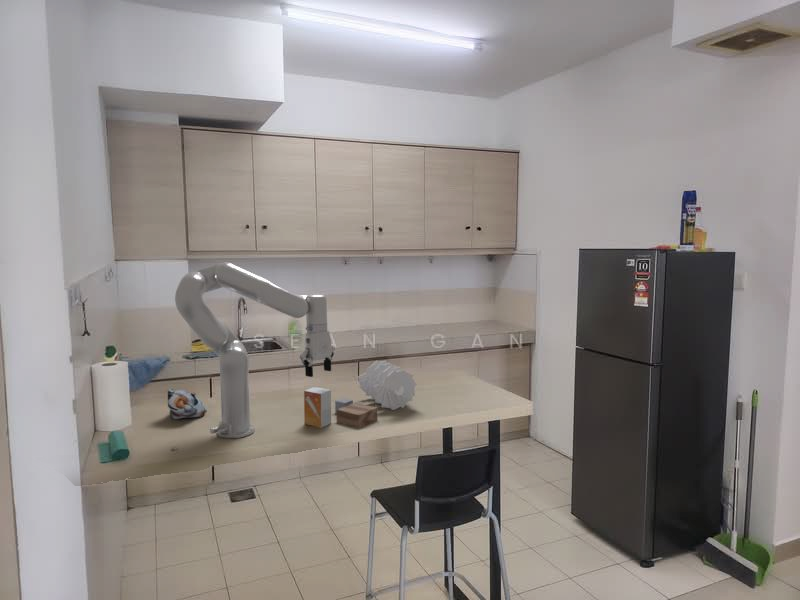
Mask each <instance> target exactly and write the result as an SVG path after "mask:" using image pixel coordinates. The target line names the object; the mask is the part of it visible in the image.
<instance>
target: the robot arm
mask: <svg viewBox="0 0 800 600" xmlns="http://www.w3.org/2000/svg"><path fill="white" fill-rule="evenodd" d="M222 288H225V289H227V290H229V291H231V292H233V293H236V294H239V295H241V296H243V297H245V298H247V299H250V300H252V301H254V302H256V303H258V304H260V305H264V306H265V307H266V306H267V307H269V308H271V309H273V310H275V311H278V312H280V313H281V314H284V315H287V316H289V317H292V318H294V319H300V318H303V317H306V320H305V321H306V327H305V331H306V333H305V338H304V351H303V352H302V353H301V354H300V355H299V358H300V361H301V364H303V366H304V369H305V377H308V378H312V377H314V370H313V369H314V367H313V362H314V361H320V360H323V371H326V372H332V360H333V357H334V355H335V351H336V350H335V349H336V348H335V347H334V346H333V345H332V339H331V334H330V331H329V330H328V307H327V305H328V304H327V303H328V302H327V300H328V299H327V297H326V295H324V294H321V293H320V294H319V293H317V294H307V295H304V294H293V293H292V292H289V291H287V290H286V289H283V288H282V287H279V286H277V285H276V284H273V282H271V281H269V280H267V279H266V278H264V277H262V276H260V275H258V274H255V273H252V272H250V271H248V270H246V269H244V268H242V267H239V266H237V265H235V264H233V263H231V262H227V261H225V262H220V263H217V264H214V265H210V266H208V267H204V268H201V269H198V270H197V269H196V270H193V271H190V272H188V273H186V274H184V276H183V277H182V278H181V279H180V282H179V284H178V286H177V288H176V291H175V295H174V296H175V297H174V301H175V306H176V309H177V311H178V313H179V315H180V316H181V317H182V318H183V320H184V321H185V322H186V323H187V325H188V326H189V327H190V328H191V330H192V331H193V332H194V334H195V335H196V336H197V337H198V338H199V340H200V341H201V342H202V344H204V346H206V347H208V348H209V349H211V350H212V351H213V353H215V355H216V356H217V357H218V359H219V375H220V376H219V377H220V380H219V381H220V383H219V384H220V399H221V401H220V405H221V407H220V408H221V421H219V423H218V425H217V426H214V427H211V428H210V429H209V433H210V434H211V435H213V434H215V433H216V434H217V435H218V437H220V438H223V439H240V438H245V437H247V436H250V435H252V434H253V433H254V432H255V426H254V425H252V424H251V422H250V421H251V420H250V389H249V388H250V387H249V383H250V382H249V379H250V378H249V371H250V370H249V369H250V367H249V366H250V365H249V364H250V362H249V355H248V352H247V349H246V347H245V345H244V344H243V343H242V341H241V340H240V339H239V338H238V337H237V336H236V334H235V333H234V332H233V331H232V329H231V328H230V327H229V326H228V325H227V324H226V322H224V321H223V320H222V319H220V318H217V317H216V316H215V314H214V313H213V312H212V311H211V310H210V308H209V307H208V306H207V305H206V303H205V302H204V300H203V295H204V294H205V293H209V292H212V291H215V290H218V289H222ZM305 315H306V316H305Z"/></svg>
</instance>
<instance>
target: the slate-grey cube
mask: <svg viewBox="0 0 800 600" xmlns="http://www.w3.org/2000/svg"><path fill="white" fill-rule="evenodd" d="M334 401H335V402H334V403H335V404H334V409H335V410H334V411H335V412H334V413H336V414H337V409H340V408H342V407H345V406H348V405H350V404H353V403H354V400H353V399H349V398H345V397H343V398H339V399H336V400H334Z"/></svg>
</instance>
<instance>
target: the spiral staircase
mask: <svg viewBox="0 0 800 600" xmlns="http://www.w3.org/2000/svg"><path fill="white" fill-rule="evenodd" d="M413 376H414V375H413V374H411V373H408V372H406V369H401V367H400V366H398V365H394V364H392V362H388V361H387V360H382V361H381V360H380V361H378V360H375V361H374V362H373V363H372V364H371V365H368V366H367V368H366V371H365V372H364V373H363V374H360V375H358V376H357V379H358V383H359V388H360V389H361V390H362V391H363V392H364V393H365V396H369V397H371V400H372V401H373V400H374V403H377V404H381V408H387V409H390V410H391V411H392V410H393V411H395V410H398V409H399V408H402V409H404V408H405V407H406V405H407V404H408V402H412V401H413V397H415V396H416V392H415V387H416V386H417V383H416V381H415V380H414V379H413Z"/></svg>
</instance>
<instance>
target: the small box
mask: <svg viewBox="0 0 800 600" xmlns="http://www.w3.org/2000/svg"><path fill="white" fill-rule="evenodd" d="M303 391H304V393H303V397H304V399H303V404H304V405H303V406H304V407H303V409H304V412H303V414H304V417H303V418H304V420H303V421H304V422H303V423H304V425H309V426H313V427H315V428H316V427H317V428H321V429H322V428H323V427H326V426H328V425H330V424H331V423H332V390H331V389H326V388H323V387H316V386H312V387H311V388H307V389H305V390H303Z"/></svg>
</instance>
